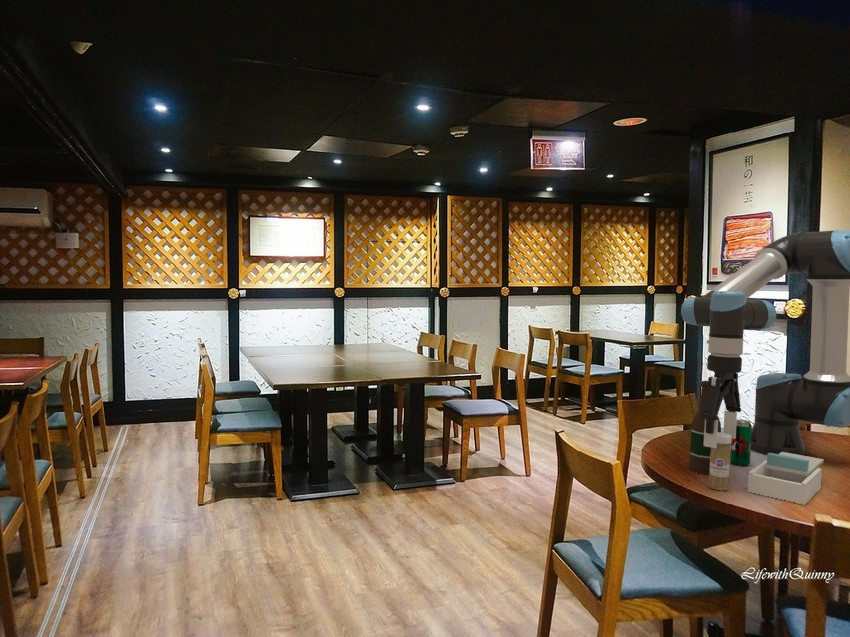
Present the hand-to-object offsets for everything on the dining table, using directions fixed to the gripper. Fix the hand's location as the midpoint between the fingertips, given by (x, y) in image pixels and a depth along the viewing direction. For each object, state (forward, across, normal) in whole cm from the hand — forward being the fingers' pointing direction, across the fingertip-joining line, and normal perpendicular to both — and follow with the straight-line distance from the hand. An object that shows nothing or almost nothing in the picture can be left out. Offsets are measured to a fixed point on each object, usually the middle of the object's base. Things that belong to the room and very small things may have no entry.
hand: (719, 442), depth 153 cm
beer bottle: (+12, -13, -8) cm, 19 cm away
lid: (+7, -19, +12) cm, 23 cm away
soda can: (+11, -26, -3) cm, 29 cm away
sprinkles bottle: (+12, 0, 0) cm, 12 cm away
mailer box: (+11, -10, +12) cm, 20 cm away
